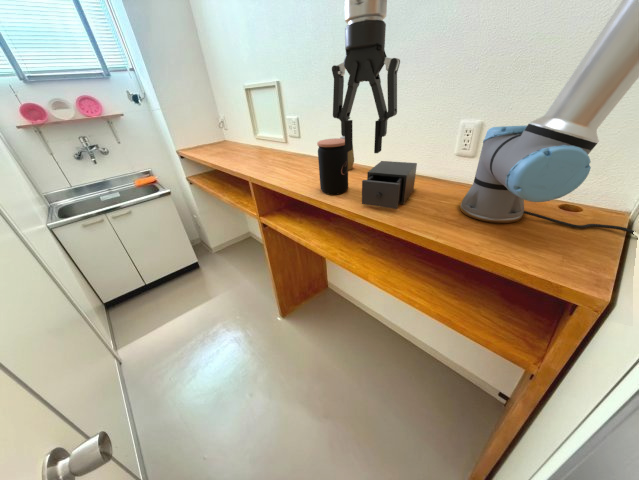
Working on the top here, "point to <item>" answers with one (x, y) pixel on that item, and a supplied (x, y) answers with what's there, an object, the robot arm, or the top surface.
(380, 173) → the cabinet
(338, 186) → the coffee jar
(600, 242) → the top surface
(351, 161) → the squeeze bottle
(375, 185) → the drawer
